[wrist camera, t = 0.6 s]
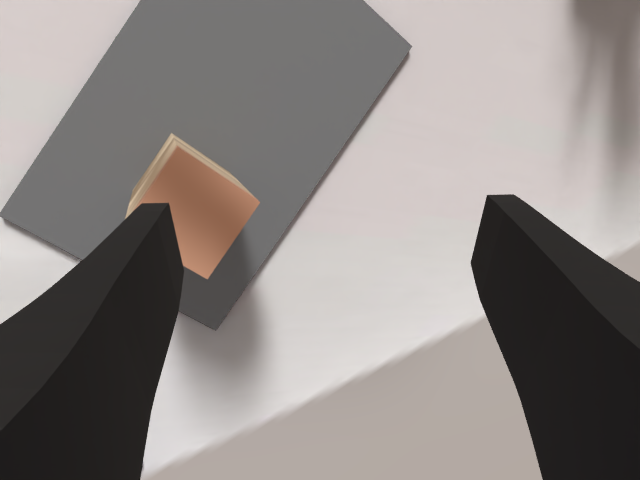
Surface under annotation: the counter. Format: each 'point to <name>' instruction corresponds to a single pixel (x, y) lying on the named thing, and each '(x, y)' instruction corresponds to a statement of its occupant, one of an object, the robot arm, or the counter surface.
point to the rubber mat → (211, 121)
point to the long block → (196, 202)
